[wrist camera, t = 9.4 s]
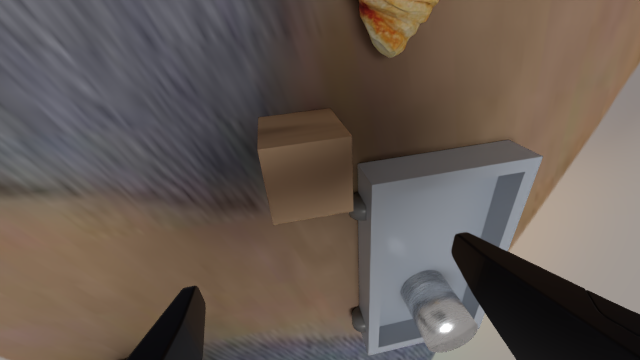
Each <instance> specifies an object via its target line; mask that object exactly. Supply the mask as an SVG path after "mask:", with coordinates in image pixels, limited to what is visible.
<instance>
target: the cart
mask: <svg viewBox="0 0 640 360" xmlns="http://www.w3.org/2000/svg"><path fill="white" fill-rule="evenodd" d="M542 158H543V156H541V155H539V154H537V153H535V152H533V151H531V150H529V149H527V148H525V147H523V146H521V145H519V144H517V143H515V142H512V141H510V140H505V141H498V142H492V143H486V144H479V145H473V146H467V147H460V148H454V149H448V150H442V151H435V152H429V153H423V154H416V155H410V156H404V157H397V158H391V159H385V160H378V161H372V162H366V163H359V164H358V192H355V193H353V211H351V212H349V215H350V216H351V217H352V218H353V219H355V220H358V245H359V307H356V308H355V309H354V310H353V312H352V324H353V327H354V328H355V329H356V330H357V331H359V332H361V334H362V337H363V340H364V343H365V346H366V350H367V353H368V356H369V355H373V354H377V353H381V352H385V351H389V350H393V349H397V348H402V347H406V346H410V345H414V344H418V343H422V342H424V340H423V338H422V336H421V334H420V332H419V330H418V328H417V326H416V324H415V322H414V320H413V318H412V316H411V314H410V312H409V310H408V308H407V306H406V304H405V302H404V300H403V298H402V296H401V293H400V291H401V287H402V285H403V284H404V282H405V281H406V280H407V279H408V278H410V277H411V276H413V275H414V274H416V273H419V272H421V271H425V270H435V271H438V272H440V273H441V274H442V275H443V277H444V278H445V280H446V281H447V282H448V284H449V285H450V287H451V288H452V289H453V291H454V292H455V294H456V295H457V296H458V298H459V299H460V301H461V302H462V303H463V305H464V306H465V308H466V309H467V311H468V312H469V313H470V315H471V316H472V318H473V319H474V320H475V322H476V323H477V325H478V329H479V327H480V324H481V322H482V319H483V316H484V314H485V312H484V310H483V309H482V308H481V306H480V305H479V303H478V302H477V300H476V298H475V297H474V295H473V294H472V292H471V290H470V288H469V286H468V285H467V283H466V281H465V279H464V277H463V275H462V273H461V272H460V270H459V268H458V266H457V264H456V262H455V260H454V259H453V256H452V253H451V249H452V244H453V240H454V236H455V235H456V234H458V233H463V232H468V233H470V234H473V235H475V236H477V237H479V238H481V239H483V240H485V241H487V242H489V243H491V244H493V245H495V246H497V247H499V248H501V249H504V250H506V251H508V249H509V246H510V244H511V241H512V238H513V236H514V233H515V230H516V228H517V225H518V222H519V219H520V217H521V214H522V211H523V209H524V206H525V203H526V201H527V198H528V195H529V193H530V190H531V187H532V184H533V182H534V179H535V176H536V174H537V171H538V168H539V166H540V163H541V160H542Z"/></svg>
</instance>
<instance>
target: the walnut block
mask: <svg viewBox="0 0 640 360" xmlns="http://www.w3.org/2000/svg"><path fill="white" fill-rule="evenodd" d="M257 151H258V155H259V160H260V165H261V169H262V174H263V179H264V184H265V188H266V193H267V198H268V202H269V207H270V212H271V217H272V221H273V225H278V224H284V223H289V222H295V221H301V220H306V219H312V218H318V217H323V216H329V215H335V214H340V213H346V212H351V211H353V162H352V135H351V134H350V133H349V132H348V130H347V129H346V128H345V126H344V125H343V124H342V123H341V121H340V120H339V119H338V117H337V116H336V115H335V114H334V112H333V111H332V110H331V108H326V109H319V110H311V111H304V112H296V113H288V114H281V115H273V116H266V117H258V145H257Z"/></svg>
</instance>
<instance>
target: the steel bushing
mask: <svg viewBox="0 0 640 360" xmlns="http://www.w3.org/2000/svg"><path fill="white" fill-rule="evenodd" d="M400 293H401V296H402V298H403V300H404V302H405V304H406V306H407V308H408V310H409V312H410V314H411V316H412V318H413V320H414V322H415V324H416V326H417V328H418V330H419V332H420V334H421V336H422V338H423V340H424V342H425V344H426V346H427V347H428V349H429V350H430V351H433V352H447V351H451V350H454V349H456V348H458V347H460V346H462V345H464V344H465V343H467V342H468V341H469V340H471V339H472V337H473V336H474V335H475V334H476V332H477V329H478V325H477V323H476V322H475V320H474V319H473V318H472V316H471V315H470V313H469V312H468V311H467V309H466V308H465V306H464V305H463V303H462V302H461V301H460V299H459V298H458V296H457V295H456V294H455V292H454V291H453V289H452V288H451V287H450V285H449V284H448V282H447V281H446V280H445V278H444V277H443V275H442V274H441V273H440V272H438V271H435V270H425V271H421V272H419V273H416V274H414V275H413V276H411V277H410V278H408V279H407V280H406V281H405V282H404V284H403V285H402V287H401V291H400Z"/></svg>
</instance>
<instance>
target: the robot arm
mask: <svg viewBox="0 0 640 360" xmlns="http://www.w3.org/2000/svg"><path fill="white" fill-rule="evenodd" d="M451 253H452V256H453V259H454V260H455V262H456V264H457V266H458V268H459V270H460V272H461V273H462V275H463V277H464V279H465V281H466V283H467V285H468V286H469V288H470V290H471V292H472V294H473V295H474V297H475V298H476V300H477V302H478V303H479V305H480V306H481V308H482V309H483V310H484V312H485V313H486V315H487V316H488V318H489V319H490V321H491V322H492V324H493V325H494V327H495V328H496V330H497V331H498V333H499V334H500V336H501V337H502V339H503V340H504V342H505V343H506V344H507V346H508V348H509V349H510V351H511V352H512V354H513V355H514V357H515V358H516V360H640V314H638V313H636V312H633V311H631V310H629V309H626V308H624V307H622V306H620V305H618V304H616V303H613V302H611V301H609V300H607V299H605V298H603V297H601V296H599V295H597V294H595V293H592V292H590V291H588V290H585V289H584V288H582V287H580V286H578V285H576V284H574V283H572V282H570V281H568V280H566V279H563V278H561V277H559V276H557V275H555V274H553V273H551V272H549V271H547V270H545V269H543V268H541V267H539V266H537V265H534V264H532V263H530V262H528V261H526V260H524V259H522V258H520V257H518V256H516V255H514V254H512V253H510V252H508V251H506V250H504V249H501V248H499V247H497V246H495V245H493V244H491V243H489V242H487V241H485V240H483V239H481V238H479V237H477V236H475V235H473V234H470V233H468V232H463V233H458V234H456V235H455V236H454V240H453V244H452V249H451ZM205 309H206V307H205V301H204V299H203V297H202V294H201V292H200V290H199V288H198V287H197V286H191V287H186V288H183V289H182V290H181V291H180V293H179V294H178V295H177V296H176V298H175V299H174V300H173V301H172V303H171V304H170V305H169V306H168V308H167V309H166V310H165V311H164V313H163V314H162V315H161V316H160V318H159V319H158V320H157V322H156V323H155V324H154V325H153V327H152V328H151V329H150V330H149V332H148V333H147V334H146V335H145V337H144V338H143V339H142V340H141V342H140V343H139V344H138V345H137V347H136V348H135V349H134V350H133V352H132V353H131V354H130V355H129V357H128V358H127V359H126V360H202V357H203V343H204V326H205Z"/></svg>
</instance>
